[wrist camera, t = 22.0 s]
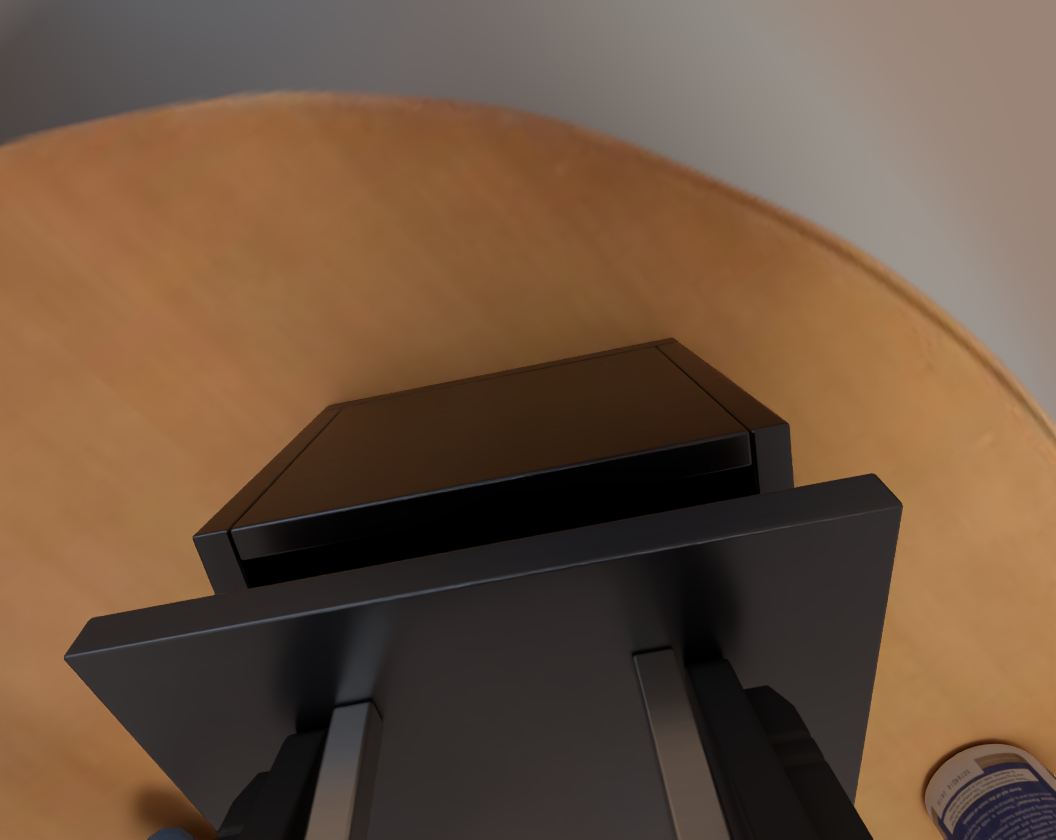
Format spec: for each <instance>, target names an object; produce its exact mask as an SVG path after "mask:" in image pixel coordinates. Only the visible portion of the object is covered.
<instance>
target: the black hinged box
mask: <svg viewBox="0 0 1056 840" xmlns="http://www.w3.org/2000/svg"><path fill="white" fill-rule="evenodd" d="M790 488H794V481H793V467H792V454H791V440H790V426H789V424H788V423H787V422H786V421H785V420H783V419H782V418H781V417H779V416H778V415H777V414H775V413H774V412H773V411H771V410H770V409H768V408H767V407H766V406H764V405H763V404H762V403H760V402H759V401H758V400H756V399H755V398H754V397H752V396H751V395H750V394H748V393H747V392H746V391H744V390H743V389H742V388H740V387H739V386H737V385H736V384H735V383H733V382H732V381H731V380H729V379H728V378H727V377H725V376H724V375H723V374H721V373H720V372H719V371H717V370H716V369H715V368H713V367H712V366H711V365H709V364H708V363H706V362H705V361H704V360H702V359H701V358H700V357H698V356H697V355H696V354H694V353H693V352H692V351H690V350H689V349H688V348H686V347H685V346H684V345H682V344H681V343H680V342H678V341H677V340H676V339H674V338H668V339H663V340H658V341H653V342H648V343H643V344H638V345H633V346H628V347H623V348H617V349H612V350H607V351H602V352H597V353H592V354H587V355H582V356H577V357H572V358H567V359H562V360H557V361H552V362H547V363H542V364H537V365H531V366H526V367H521V368H516V369H511V370H506V371H501V372H496V373H491V374H486V375H481V376H476V377H471V378H466V379H461V380H456V381H451V382H446V383H440V384H435V385H430V386H425V387H420V388H415V389H410V390H405V391H400V392H395V393H390V394H385V395H380V396H375V397H370V398H365V399H360V400H354V401H349V402H344V403H339V404H334V405H329V406H327V407H326V408H325V409H324V410H323V411H322V412H321V413H320V414H319V415H318V416H317V417H316V418H315V419H314V420H313V421H312V422H311V423H309V424H308V425H307V426H306V427H305V428H304V429H303V430H302V431H301V432H300V433H299V434H298V435H297V436H296V437H295V438H294V439H293V440H292V441H291V442H290V443H289V444H288V445H287V446H286V447H285V448H284V449H283V450H282V451H281V452H280V453H278V454H277V455H276V456H275V457H274V458H273V459H272V460H271V461H270V462H269V463H268V464H267V465H266V466H265V467H264V468H263V469H262V470H261V471H260V472H259V473H258V474H257V475H256V476H255V477H254V478H253V479H252V480H251V481H250V482H249V483H248V484H246V485H245V486H244V487H243V488H242V489H241V490H240V491H239V492H238V493H237V494H236V495H235V496H234V497H233V498H232V499H231V500H230V501H229V502H228V503H227V504H226V505H225V506H224V507H223V508H222V509H221V510H220V511H219V512H218V513H217V514H215V515H214V516H213V517H212V518H211V519H210V520H209V521H208V522H207V523H206V524H205V525H204V526H203V527H202V528H201V529H200V530H199V531H198V532H197V533H196V534H195V535H194V536H193V541H194V543H195V546H196V548H197V551H198V553H199V556H200V558H201V561H202V563H203V565H204V568H205V570H206V573H207V575H208V578H209V580H210V583H211V585H212V587H213V590H214V592H215V595H218V594H224V593H229V592H234V591H240V590H245V589H250V588H256V587H261V586H267V585H272V584H277V583H283V582H288V581H294V580H299V579H304V578H310V577H315V576H321V575H326V574H331V573H337V572H342V571H348V570H353V569H358V568H364V567H369V566H375V565H380V564H385V563H391V562H396V561H402V560H407V559H412V558H418V557H423V556H429V555H434V554H439V553H445V552H450V551H455V550H461V549H466V548H472V547H477V546H482V545H488V544H493V543H499V542H504V541H509V540H515V539H520V538H526V537H531V536H536V535H542V534H547V533H553V532H558V531H563V530H569V529H574V528H580V527H585V526H590V525H596V524H601V523H607V522H612V521H617V520H623V519H628V518H634V517H639V516H644V515H650V514H655V513H660V512H666V511H671V510H677V509H682V508H687V507H693V506H698V505H704V504H709V503H714V502H720V501H725V500H731V499H736V498H741V497H747V496H752V495H758V494H763V493H768V492H774V491H779V490H785V489H790Z"/></svg>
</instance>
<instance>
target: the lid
mask: <svg viewBox="0 0 1056 840" xmlns="http://www.w3.org/2000/svg"><path fill="white" fill-rule="evenodd" d="M902 508H903V506H902V503H901V502H900V500H899V499H898V498H897V497H896V496H895V495H894V494H893V493H892V492H891V491H890V490H889V489H888V487H887V486H886V485H885V484H884V483H883V482H882V481H881V480H880V479H879V478H878V477H877V476H876V475H875V474H872V473H871V474H865V475H860V476H855V477H849V478H844V479H839V480H833V481H828V482H822V483H817V484H812V485H806V486H801V487H795V488H790V489H785V490H779V491H774V492H768V493H763V494H758V495H752V496H747V497H741V498H736V499H731V500H725V501H720V502H714V503H709V504H704V505H698V506H693V507H687V508H682V509H677V510H671V511H666V512H660V513H655V514H650V515H644V516H639V517H634V518H628V519H623V520H617V521H612V522H607V523H601V524H596V525H590V526H585V527H580V528H574V529H569V530H563V531H558V532H553V533H547V534H542V535H536V536H531V537H526V538H520V539H515V540H509V541H504V542H499V543H493V544H488V545H482V546H477V547H472V548H466V549H461V550H455V551H450V552H445V553H439V554H434V555H429V556H423V557H418V558H412V559H407V560H402V561H396V562H391V563H385V564H380V565H375V566H369V567H364V568H358V569H353V570H348V571H342V572H337V573H331V574H326V575H321V576H315V577H310V578H304V579H299V580H294V581H288V582H283V583H277V584H272V585H267V586H261V587H256V588H250V589H245V590H240V591H234V592H229V593H224V594H218V595H213V596H207V597H202V598H197V599H191V600H186V601H180V602H175V603H170V604H164V605H159V606H153V607H148V608H143V609H137V610H132V611H126V612H121V613H116V614H110V615H105V616H99V617H94V618H91V619H90V620H89V621H88V622H87V624H86V625H85V627H84V628H83V630H82V631H81V632H80V634H79V635H78V637H77V638H76V640H75V641H74V642H73V644H72V645H71V647H70V648H69V650H68V651H67V653H66V654H65V655H64V660H65V661H66V662H67V663H68V664H69V666H70V667H71V668H72V669H73V670H74V671H75V672H76V673H77V675H78V676H79V677H80V678H81V679H82V680H83V681H84V682H85V684H86V685H87V686H88V687H89V688H90V689H91V690H92V691H93V693H94V694H95V695H96V696H97V697H98V698H99V699H100V700H101V702H102V703H103V704H104V705H105V706H106V707H107V708H108V709H109V711H110V712H111V713H112V714H113V715H114V716H115V717H116V718H117V720H118V721H119V722H120V723H121V724H122V725H123V726H124V727H125V728H126V730H127V731H128V732H129V733H130V734H131V735H132V736H133V737H134V739H135V740H136V741H137V742H138V743H139V744H140V745H141V746H142V748H143V749H144V750H145V751H146V752H147V753H148V754H149V755H150V757H151V758H152V759H153V760H154V761H155V762H156V763H157V764H158V766H159V767H160V768H161V769H162V770H163V771H164V772H165V773H166V775H167V776H168V777H169V778H170V779H171V780H172V781H173V782H174V784H175V785H176V786H177V787H178V788H179V789H180V790H181V791H182V793H183V794H184V795H185V796H186V797H187V798H188V799H189V800H190V802H191V803H192V804H193V805H194V806H195V807H196V808H197V809H198V810H199V812H200V813H201V814H202V815H203V816H204V817H205V818H206V819H207V821H208V822H209V823H210V824H211V825H212V826H213V827H214V828H215V830H216V831H217V832H218V830H219V828H220V826H221V824H222V822H223V820H224V818H225V816H226V814H227V812H228V810H229V808H230V806H231V805H232V803H233V801H234V800H235V799H236V798H237V796H238V795H239V794H240V793H241V792H242V791H243V790H244V789H245V787H246V786H247V785H248V784H249V783H250V782H251V781H252V780H253V778H254V777H255V776H256V775H257V774H258V773H261V772H266V771H270V769H271V767H272V765H273V763H274V761H275V759H276V757H277V754H278V752H279V750H280V748H281V746H282V744H283V742H284V740H285V739H286V738H287V736H289V735H291V734H295V733H301V732H307V731H312V730H318V729H324V728H329V730H328V735H327V739H326V744H325V748H324V752H323V757H322V761H321V765H320V770H319V774H318V778H317V783H316V787H315V792H314V796H313V800H312V805H311V809H310V813H309V818H308V822H307V827H306V831H305V835H304V840H734V838H733V835H732V832H731V828H730V825H729V822H728V819H727V816H726V813H725V809H724V806H723V803H722V800H721V797H720V794H719V791H718V787H717V784H716V781H715V778H714V775H713V772H712V768H711V765H710V762H709V759H708V756H707V753H706V749H705V746H704V743H703V740H702V737H701V734H700V731H699V727H698V724H697V721H696V718H695V715H694V712H693V708H692V705H691V702H690V699H689V696H688V693H687V689H686V682H685V675H684V666H686V665H691V664H697V663H703V662H708V661H714V660H720V659H725V658H726V659H728V660H729V662H730V663H731V665H732V667H733V669H734V671H735V673H736V675H737V677H738V679H739V681H740V683H741V685H742V687H743V689H748V688H754V687H760V686H765V685H768V686H770V687H771V688H772V689H774V690H775V691H776V692H777V693H779V694H780V695H781V696H782V697H784V698H785V699H786V700H788V701H789V702H790V703H791V704H793V705H794V706H795V708H796V710H797V711H798V713H799V715H800V716H801V718H802V720H803V722H804V723H805V725H806V727H807V728H808V730H809V732H810V735H811V737H812V738H814V740H815V742H816V743H817V745H818V747H819V749H820V750H821V752H822V754H823V755H824V759H825V761H827V762H828V764H829V765H830V767H831V769H832V770H833V772H834V774H835V775H836V777H837V779H838V781H839V782H840V784H841V786H842V787H843V789H844V791H845V792H846V794H847V796H848V797H849V799H850V801H851V802H852V804H853V806H854V803H855V797H856V790H857V784H858V778H859V772H860V766H861V760H862V754H863V748H864V741H865V735H866V729H867V723H868V717H869V711H870V705H871V698H872V692H873V686H874V680H875V674H876V668H877V662H878V656H879V649H880V643H881V637H882V631H883V625H884V619H885V613H886V607H887V600H888V594H889V588H890V582H891V576H892V570H893V564H894V557H895V551H896V545H897V539H898V533H899V527H900V521H901V515H902Z"/></svg>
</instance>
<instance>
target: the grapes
mask: <svg viewBox="0 0 1056 840" xmlns="http://www.w3.org/2000/svg"><path fill="white" fill-rule="evenodd" d="M148 840H196V839H195V838H194V837H193V836H192V835H190V834H189V833H187V832H186V831H185V830H183V829H182V828H180V827H164V828H163V829H161V830H160V831H158V832H157V833H155V834H153V835H152V836H150V837H149V838H148Z"/></svg>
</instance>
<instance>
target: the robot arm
mask: <svg viewBox="0 0 1056 840" xmlns="http://www.w3.org/2000/svg"><path fill="white" fill-rule="evenodd" d="M684 675H685V682H686V689H687V693H688V696H689V699H690V702H691V705H692V708H693V712H694V715H695V718H696V721H697V724H698V727H699V731H700V734H701V737H702V740H703V743H704V746H705V749H706V753H707V756H708V759H709V762H710V765H711V768H712V772H713V775H714V778H715V781H716V784H717V787H718V791H719V794H720V797H721V800H722V803H723V806H724V809H725V813H726V816H727V819H728V822H729V825H730V828H731V832H732V835H733V838H734V840H873V838H872V836H871V834H870V833H869V831H868V829H867V828H866V826H865V824H864V823H863V821H862V819H861V818H860V816H859V814H858V813H857V811H856V809H855V808H854V806H853V804H852V802H851V801H850V799H849V797H848V796H847V794H846V792H845V791H844V789H843V787H842V786H841V784H840V782H839V781H838V779H837V777H836V775H835V774H834V772H833V770H832V769H831V767H830V765H829V764H828V762H827V761H825V759H824V755H823V754H822V752H821V750H820V749H819V747H818V745H817V743H816V742H815V740H814V738H812V737H811V735H810V732H809V730H808V728H807V727H806V725H805V723H804V722H803V720H802V718H801V716H800V715H799V713H798V711H797V710H796V708H795V706H794V705H793V704H791V703H790V702H789V701H788V700H786V699H785V698H784V697H782V696H781V695H780V694H779V693H777V692H776V691H775V690H774V689H772V688H771V687H770V686H768V685H765V686H760V687H754V688H748V689H743V687H742V685H741V683H740V681H739V679H738V677H737V675H736V673H735V671H734V669H733V667H732V665H731V663H730V662H729V660H728V659H726V658H725V659H720V660H714V661H708V662H703V663H697V664H691V665H686V666H684ZM328 730H329V728H324V729H318V730H312V731H307V732H301V733H295V734H291V735H289V736H287V738H286V739H285V740H284V742H283V744H282V746H281V748H280V750H279V752H278V754H277V757H276V759H275V761H274V763H273V765H272V767H271V769H270V771H266V772H261V773H258V774H257V775H256V776H255V777H254V778H253V780H252V781H251V782H250V783H249V784H248V785H247V786H246V787H245V789H244V790H243V791H242V792H241V793H240V794H239V795H238V796H237V798H236V799H235V800H234V801H233V803H232V805H231V806H230V808H229V810H228V812H227V814H226V816H225V818H224V820H223V822H222V824H221V826H220V828H219V830H218V832H217V838H216V839H214V840H304V835H305V831H306V827H307V822H308V818H309V813H310V809H311V805H312V800H313V796H314V792H315V787H316V783H317V778H318V774H319V770H320V765H321V761H322V757H323V752H324V748H325V744H326V739H327V735H328Z"/></svg>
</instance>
